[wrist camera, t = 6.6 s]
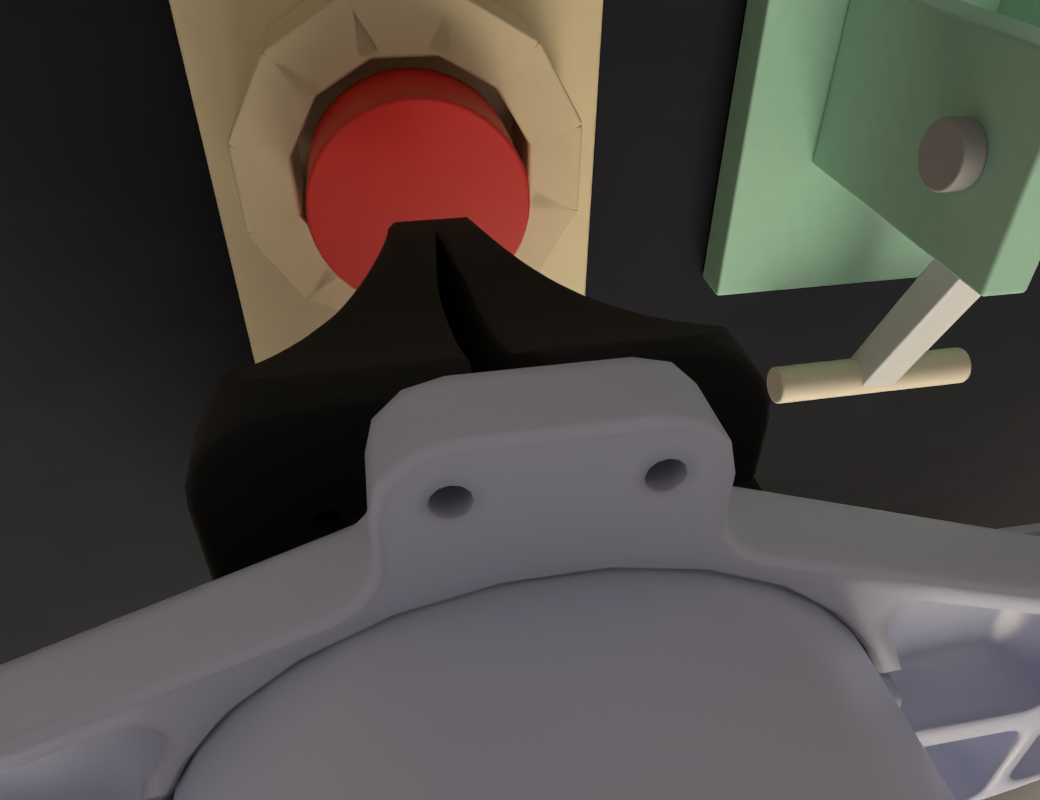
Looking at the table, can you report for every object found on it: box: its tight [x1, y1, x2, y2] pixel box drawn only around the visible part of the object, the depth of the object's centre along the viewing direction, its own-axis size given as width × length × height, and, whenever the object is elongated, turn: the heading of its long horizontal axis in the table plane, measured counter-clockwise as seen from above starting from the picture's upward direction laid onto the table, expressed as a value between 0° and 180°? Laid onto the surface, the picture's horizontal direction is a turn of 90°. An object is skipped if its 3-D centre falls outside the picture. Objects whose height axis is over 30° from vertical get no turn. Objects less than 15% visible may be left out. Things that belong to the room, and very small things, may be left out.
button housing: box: [169, 0, 603, 364], centre depth 19 cm, size 12×9×4 cm
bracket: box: [703, 0, 1040, 296], centre depth 18 cm, size 12×9×8 cm
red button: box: [305, 67, 530, 290], centre depth 17 cm, size 4×4×2 cm
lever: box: [767, 259, 981, 404], centre depth 20 cm, size 11×6×2 cm, turn 178°
